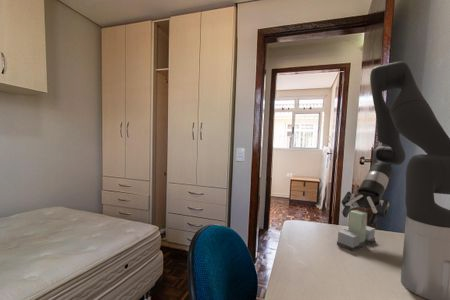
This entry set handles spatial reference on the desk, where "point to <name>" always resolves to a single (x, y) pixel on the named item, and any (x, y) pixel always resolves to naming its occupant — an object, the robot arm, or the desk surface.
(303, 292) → the desk surface
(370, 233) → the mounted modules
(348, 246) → the dark gray flat board
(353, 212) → the block
